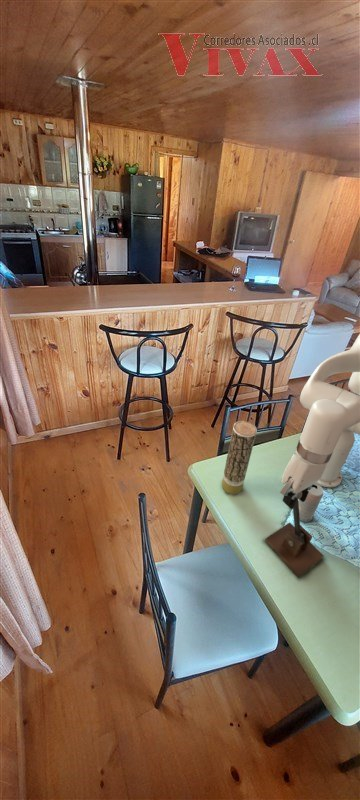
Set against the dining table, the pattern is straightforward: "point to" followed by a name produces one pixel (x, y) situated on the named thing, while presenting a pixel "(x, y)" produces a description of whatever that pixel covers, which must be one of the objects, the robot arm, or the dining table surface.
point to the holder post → (297, 519)
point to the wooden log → (238, 456)
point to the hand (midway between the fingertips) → (293, 500)
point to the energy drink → (310, 503)
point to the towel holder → (294, 549)
